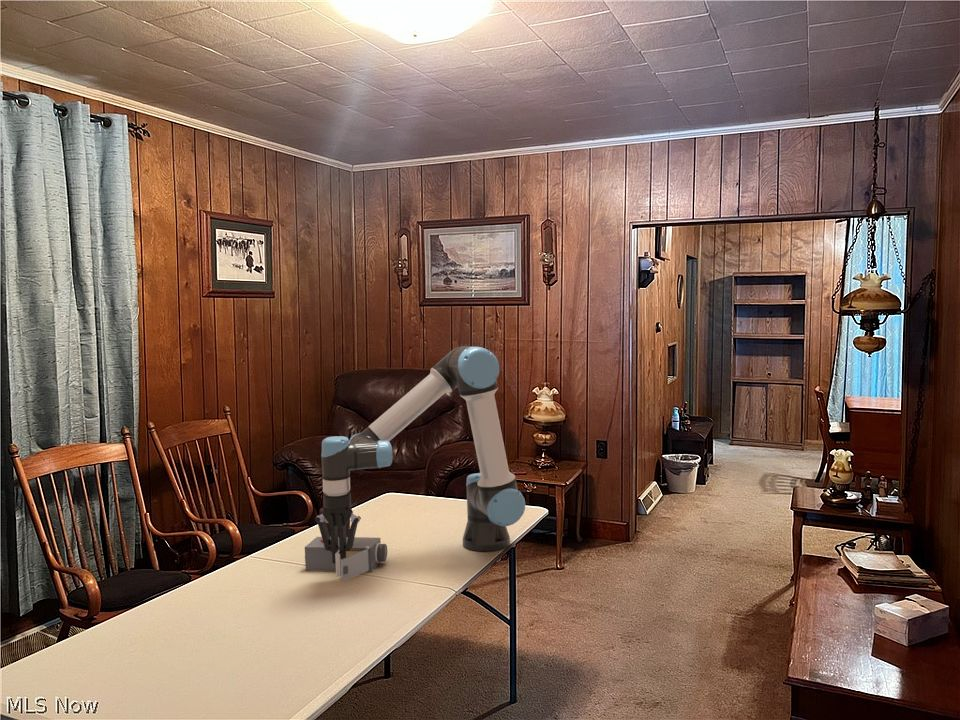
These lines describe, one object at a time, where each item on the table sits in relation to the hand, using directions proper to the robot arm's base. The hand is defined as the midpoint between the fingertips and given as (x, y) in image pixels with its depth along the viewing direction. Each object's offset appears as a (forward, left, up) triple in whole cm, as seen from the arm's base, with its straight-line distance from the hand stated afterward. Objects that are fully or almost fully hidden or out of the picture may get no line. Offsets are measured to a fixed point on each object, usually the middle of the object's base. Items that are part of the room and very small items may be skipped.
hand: (339, 574), depth 202 cm
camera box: (+2, -11, -2) cm, 11 cm away
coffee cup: (+10, -26, -2) cm, 27 cm away
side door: (-4, -1, -1) cm, 5 cm away
